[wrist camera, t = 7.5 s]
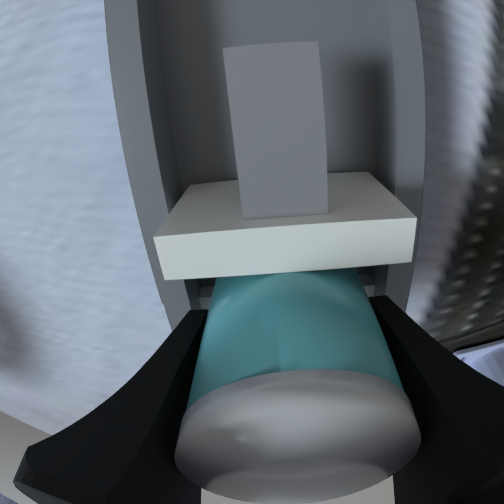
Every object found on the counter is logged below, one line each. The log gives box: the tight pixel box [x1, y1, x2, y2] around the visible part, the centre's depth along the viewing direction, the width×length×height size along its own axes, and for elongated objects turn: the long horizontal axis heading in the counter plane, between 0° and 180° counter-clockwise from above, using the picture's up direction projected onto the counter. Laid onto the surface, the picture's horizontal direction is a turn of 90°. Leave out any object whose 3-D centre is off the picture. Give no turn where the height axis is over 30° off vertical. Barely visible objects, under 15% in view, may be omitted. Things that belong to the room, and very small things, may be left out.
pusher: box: [153, 41, 417, 280], centre depth 8 cm, size 6×5×4 cm
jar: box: [174, 267, 421, 504], centre depth 9 cm, size 5×5×7 cm
